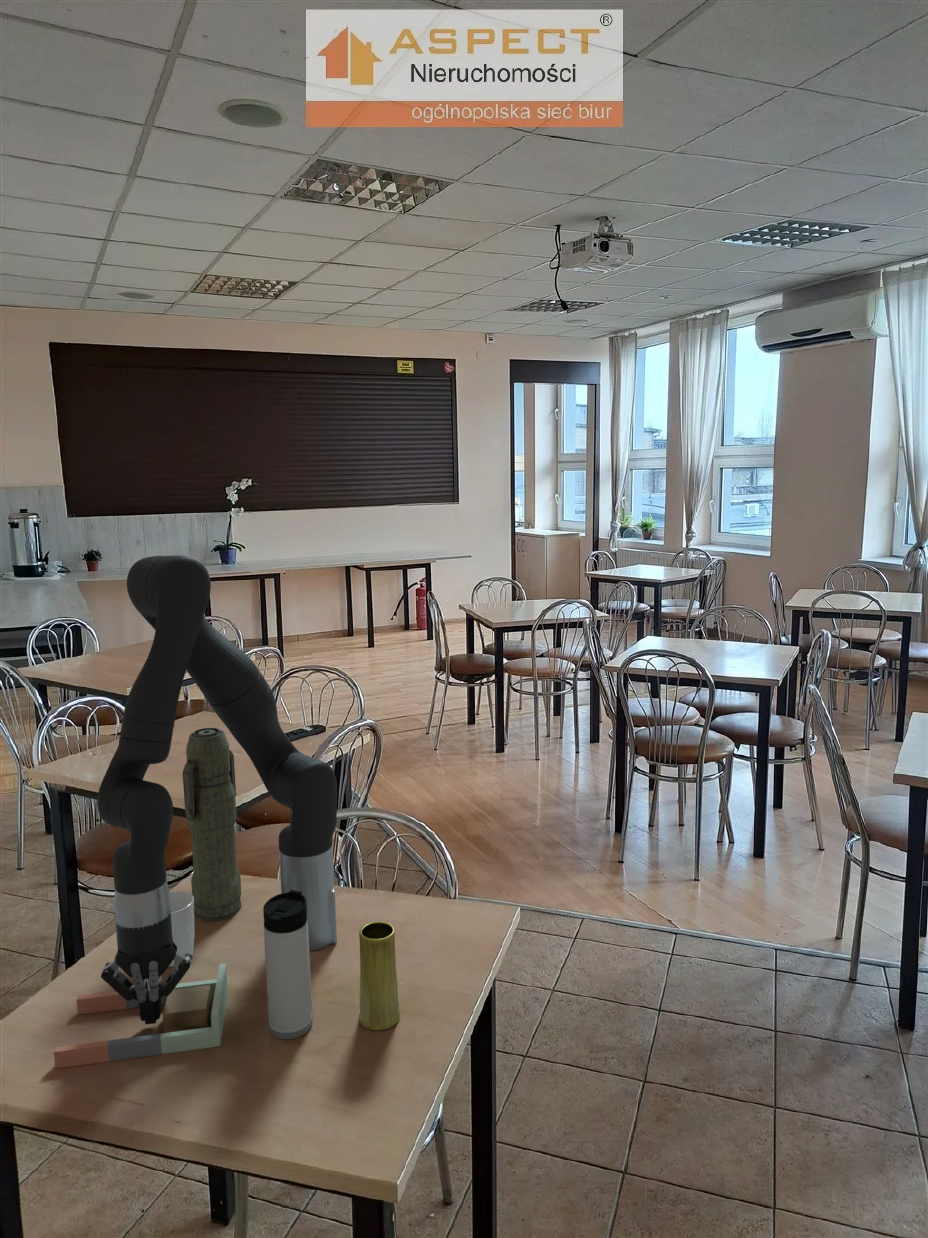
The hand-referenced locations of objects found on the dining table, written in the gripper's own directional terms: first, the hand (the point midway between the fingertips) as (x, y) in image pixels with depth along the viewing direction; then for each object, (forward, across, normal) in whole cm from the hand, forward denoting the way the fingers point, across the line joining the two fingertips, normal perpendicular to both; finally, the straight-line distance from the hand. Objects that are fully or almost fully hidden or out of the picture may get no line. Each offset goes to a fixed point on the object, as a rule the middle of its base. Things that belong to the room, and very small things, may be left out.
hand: (151, 1020), depth 122 cm
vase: (+1, -33, +5) cm, 34 cm away
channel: (+1, +1, 0) cm, 1 cm away
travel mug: (+1, -20, +4) cm, 21 cm away
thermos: (+1, -6, -34) cm, 35 cm away
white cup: (+1, 0, -19) cm, 19 cm away
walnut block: (+1, -5, 0) cm, 5 cm away
